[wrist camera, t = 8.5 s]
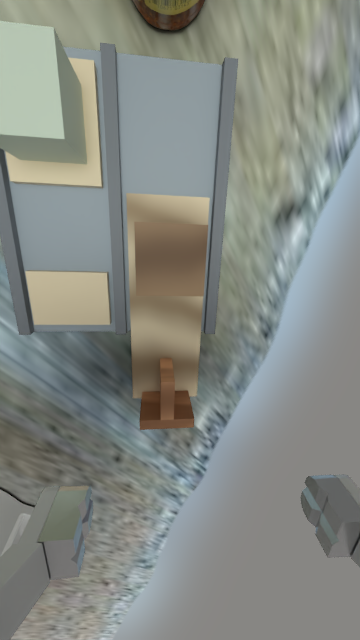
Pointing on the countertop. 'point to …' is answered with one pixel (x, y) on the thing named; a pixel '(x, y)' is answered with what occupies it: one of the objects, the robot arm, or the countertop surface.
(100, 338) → the countertop surface
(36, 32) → the sage block
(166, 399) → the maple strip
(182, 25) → the sauce bottle
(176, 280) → the walnut cube
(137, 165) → the lane board
